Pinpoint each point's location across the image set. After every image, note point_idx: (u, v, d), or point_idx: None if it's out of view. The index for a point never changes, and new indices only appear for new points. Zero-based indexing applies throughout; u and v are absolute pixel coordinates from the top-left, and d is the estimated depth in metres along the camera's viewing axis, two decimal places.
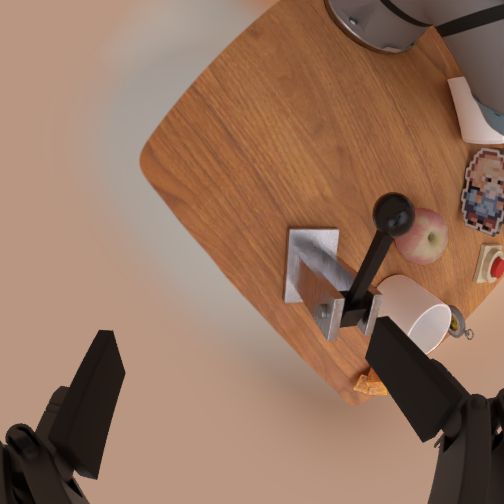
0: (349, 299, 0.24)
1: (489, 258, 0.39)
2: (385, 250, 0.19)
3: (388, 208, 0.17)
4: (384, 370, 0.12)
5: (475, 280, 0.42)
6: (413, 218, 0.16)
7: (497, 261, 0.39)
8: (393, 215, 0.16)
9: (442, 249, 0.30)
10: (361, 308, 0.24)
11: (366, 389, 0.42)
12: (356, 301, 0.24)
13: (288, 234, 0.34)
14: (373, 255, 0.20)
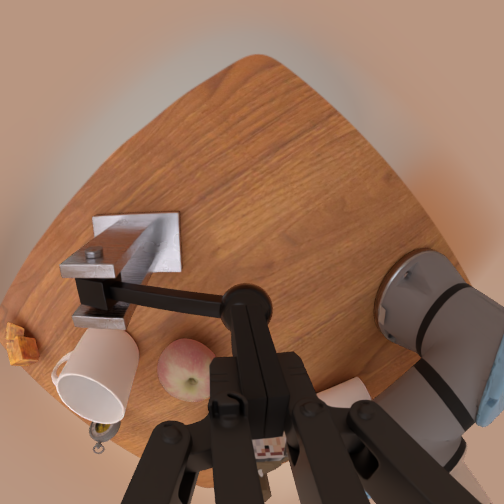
0: (115, 284, 0.18)
1: None
2: (197, 311, 0.17)
3: (259, 297, 0.16)
4: None
5: None
6: None
7: None
8: None
9: (182, 397, 0.28)
10: (107, 303, 0.17)
11: (10, 337, 0.27)
12: (114, 294, 0.18)
13: (172, 211, 0.29)
14: (187, 297, 0.17)
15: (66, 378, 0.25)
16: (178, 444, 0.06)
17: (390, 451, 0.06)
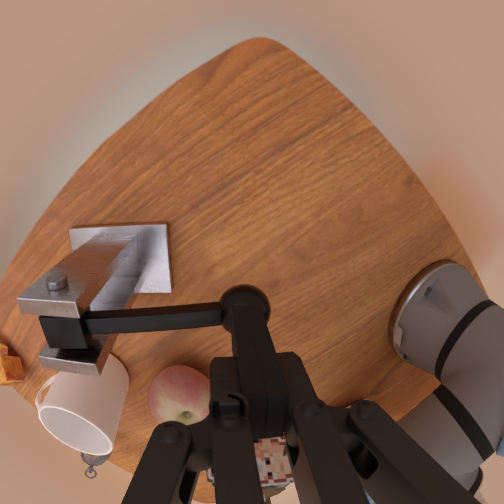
0: (90, 316, 0.14)
1: None
2: (196, 324, 0.15)
3: (261, 295, 0.16)
4: None
5: None
6: None
7: None
8: (260, 303, 0.16)
9: None
10: (86, 340, 0.13)
11: None
12: (92, 327, 0.14)
13: (159, 222, 0.24)
14: (184, 312, 0.15)
15: None
16: (178, 444, 0.06)
17: (390, 451, 0.06)
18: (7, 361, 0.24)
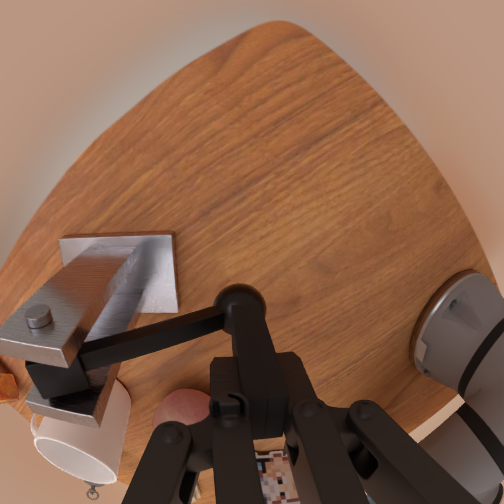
0: (84, 349, 0.11)
1: None
2: (200, 332, 0.15)
3: (257, 291, 0.16)
4: None
5: None
6: None
7: None
8: (260, 299, 0.16)
9: None
10: (86, 379, 0.10)
11: None
12: (89, 362, 0.11)
13: (163, 232, 0.20)
14: (187, 322, 0.14)
15: None
16: (178, 445, 0.06)
17: (390, 451, 0.06)
18: None
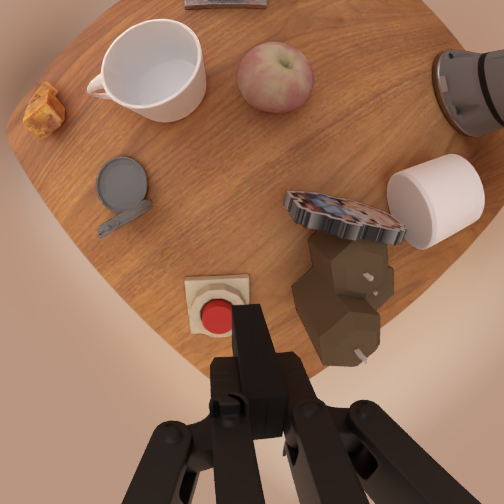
0: None
1: (231, 290, 0.34)
2: None
3: None
4: None
5: (188, 278, 0.34)
6: None
7: (230, 308, 0.33)
8: None
9: (275, 76, 0.21)
10: None
11: (38, 92, 0.21)
12: None
13: None
14: None
15: (115, 70, 0.19)
16: (178, 444, 0.06)
17: (390, 451, 0.06)
18: (53, 96, 0.22)
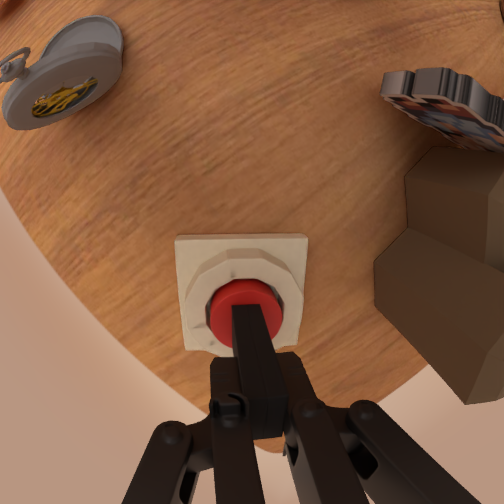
0: None
1: (275, 261, 0.16)
2: None
3: None
4: None
5: (182, 237, 0.16)
6: None
7: (272, 296, 0.16)
8: None
9: None
10: None
11: None
12: None
13: None
14: None
15: None
16: (179, 445, 0.06)
17: (389, 451, 0.06)
18: None
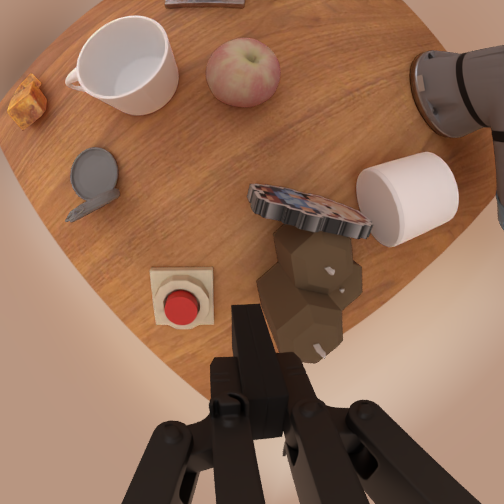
0: None
1: (194, 281, 0.33)
2: None
3: None
4: None
5: (153, 269, 0.34)
6: None
7: (192, 299, 0.33)
8: None
9: (239, 70, 0.22)
10: None
11: (23, 83, 0.20)
12: None
13: None
14: None
15: (91, 64, 0.19)
16: (179, 445, 0.06)
17: (390, 451, 0.06)
18: (36, 88, 0.22)
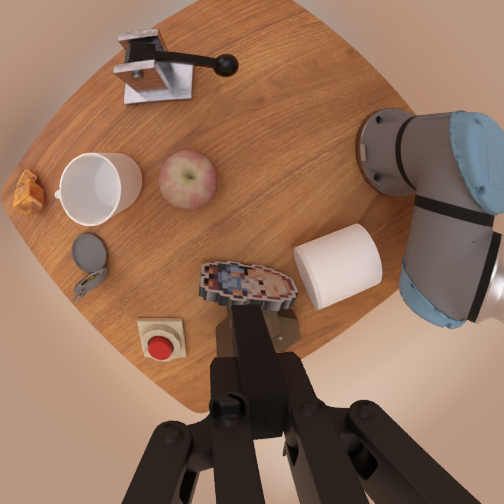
0: (155, 51, 0.23)
1: (168, 330, 0.44)
2: (206, 62, 0.27)
3: None
4: None
5: (139, 319, 0.44)
6: (235, 68, 0.28)
7: (167, 343, 0.43)
8: None
9: (179, 190, 0.32)
10: (153, 56, 0.22)
11: (21, 180, 0.31)
12: (156, 54, 0.23)
13: None
14: (201, 56, 0.26)
15: (70, 185, 0.29)
16: (179, 445, 0.06)
17: (389, 451, 0.06)
18: (33, 184, 0.32)
